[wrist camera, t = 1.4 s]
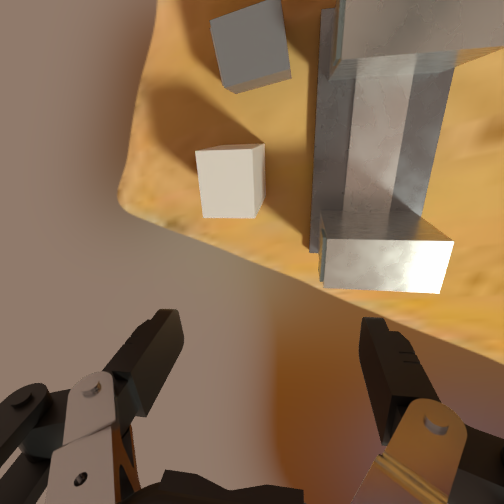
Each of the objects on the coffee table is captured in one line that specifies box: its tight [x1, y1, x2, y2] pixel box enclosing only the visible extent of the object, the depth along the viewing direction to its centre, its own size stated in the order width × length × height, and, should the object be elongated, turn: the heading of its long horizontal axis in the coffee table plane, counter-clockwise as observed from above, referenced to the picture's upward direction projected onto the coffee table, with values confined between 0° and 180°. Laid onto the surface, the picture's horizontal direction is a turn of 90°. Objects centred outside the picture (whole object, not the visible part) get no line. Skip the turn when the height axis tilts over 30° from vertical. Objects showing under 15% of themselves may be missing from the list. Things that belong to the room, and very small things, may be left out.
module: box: [195, 143, 266, 218], centre depth 28 cm, size 6×5×9 cm
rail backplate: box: [309, 0, 504, 293], centre depth 25 cm, size 24×12×10 cm, turn 3°
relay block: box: [209, 0, 292, 94], centre depth 25 cm, size 5×6×5 cm
